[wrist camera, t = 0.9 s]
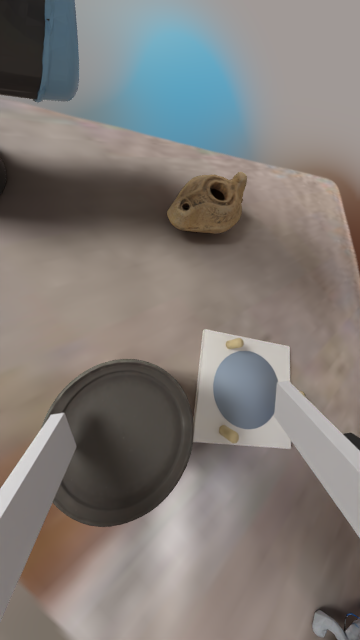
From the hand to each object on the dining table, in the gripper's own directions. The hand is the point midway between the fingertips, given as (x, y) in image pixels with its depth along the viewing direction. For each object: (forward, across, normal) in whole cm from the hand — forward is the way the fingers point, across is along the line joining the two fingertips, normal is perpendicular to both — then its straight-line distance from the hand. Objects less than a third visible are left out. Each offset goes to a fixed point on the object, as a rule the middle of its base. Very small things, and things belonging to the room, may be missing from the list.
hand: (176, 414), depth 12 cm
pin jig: (+16, +11, -12) cm, 23 cm away
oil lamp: (+31, +8, +15) cm, 35 cm away
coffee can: (+13, -7, -9) cm, 17 cm away
